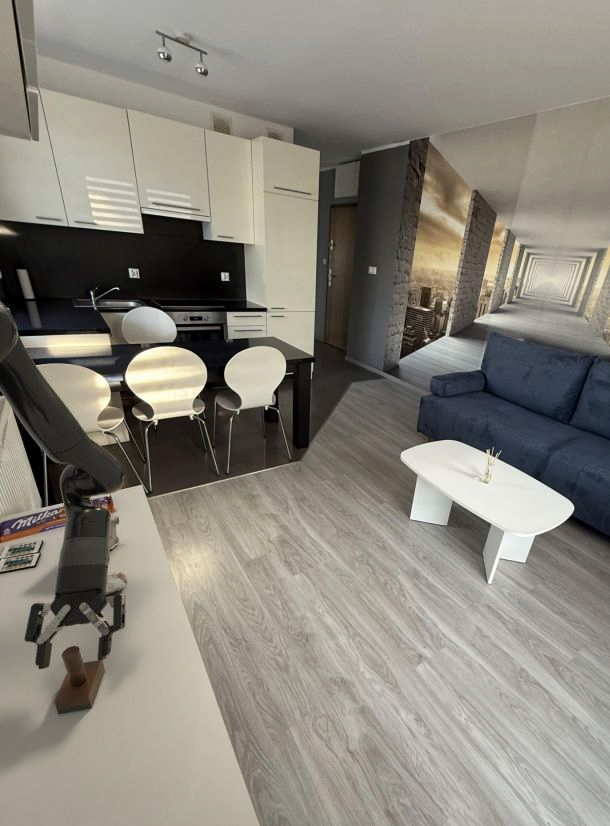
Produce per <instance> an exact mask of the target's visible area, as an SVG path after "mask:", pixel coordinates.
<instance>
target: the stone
mask: <svg viewBox="0 0 610 826" xmlns="http://www.w3.org/2000/svg"><path fill="white" fill-rule="evenodd" d="M127 584H128V580H127V577H126V573H125V572H122V571H117V572H113V573H109V574H107V586H106V595H107V596H108V595H109V594H111V593H112V594H113V593H115V592H116V591H117V592H120V591H121V590H122V589H124V588H125V587H126V585H127Z"/></svg>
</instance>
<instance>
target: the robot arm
mask: <svg viewBox="0 0 610 826" xmlns="http://www.w3.org/2000/svg"><path fill="white" fill-rule="evenodd" d="M18 331H19V329H18V326H17V323H16V321H15V318H14V316H13V314H12V313H11V311H10V310H9V308H8V307H7V306H6V305H5V303H3V302H2V301H1V300H0V392H1V394H2V395H3V397H4V398H5V399H6V402H7V403H8V404H9V406H10V408H11V409H12V410H13V412H14V414H15V415H16V417H17V418H18V420H19V421H20V423H21V424H22V426H23V427H24V429H25V430H26V431H27V432H28V434H29V435H30V437H31V438H32V439H33V440H34V441H35V442H36V444H37V445H38V446H39V447H40V449H41V450H42V451H43V452H44V453H45V454H46V456H47V457H48V458H49V459H50V460H51V461H52V462H55V463H56V464H62V465H67V466H66V467H65V468H64V469H63V470H62V473H61V475H60V476H59V477H60V478H59V488H60V489H59V490H60V493H61V498H62V499H61V500H62V503H63V509H64V513H65V525H64V532H63V541H62V546H61V548H60V552H59V558H58V566H57V574H56V583H55V590H54V599H53V601H52V602H50V603H46V602H35V603H33V604H31V607H30V611H29V615H28V619H27V624H26V629H25V634H24V641H25V642H26V643H34V644H35V645H36V646H37V647H36V654H35V660H34V661H35V662H34V663H35V666H37V667H38V670H45V669H47V668H49V667H50V665H51V657H52V650H53V642H51V641H52V640H53V639H54V638H55V637H56V636H57V634H58V633H59V632H61V631H62V630H63V628H65V627H72V626H76V625H88V624H91V625H92V626H93V627H95V628H96V629H97V631H98V632H99V633H100V635H101V636H99V638H98V649H97V661H100V660H102V661H104V660H106V659H107V656H110V654H111V651H112V640H113V635H114V633H116V632H118V631H120V630H123V629H124V628H126V595H125V594H123V593H117V594H115V595H110V596H108V594H107V595H106V586H107V576H108V575H109V574H108V573H109V563H110V551H109V534H110V522H111V515H112V513H111V511H110V510H109V509H108V508H106V507H102V506H97V505H93V504H92V500H91V499H92V498H91V497H96V496H103V495H104V496H105V495H111V494H114V493H116V492H118V491H120V490H121V489H122V488H123V486H124V484H125V481H126V475H125V469H124V467H123V466H122V464H121V463H120V462H119V460H118V459H117V458H116V457H115V456H114V455H112V454H111V453H110V452H109V451H108V450H106V449H105V448H104V447H102V445H100V444H99V443H98V442H97V441H95V440H93V439H92V438H91V437H90V436H89V435H88V433H87V432H86V430H85V429H84V428H83V426H82V425H81V423H80V422H79V421H78V419H77V418H76V417H75V415H74V414H73V412H72V411H71V410H70V409H69V407H68V406H67V405H66V404H65V402H64V401H63V399H62V398H61V396H59V395H58V394H57V392H56V390H54V388H53V387H52V386H51V385H50V383H49V381H47V379H46V378H45V377H44V376H43V374H42V372H41V371H40V369H39V368H38V366H37V365H36V364H35V361H34V360H33V359H32V357H31V356H30V354H29V352H28V350H27V349H26V347H25V346H24V343H23V341H22V338H21V337H20V334H19V332H18ZM108 604H109V607H110V608H111V609H113V612H112V613H113V615H112V624H110V622H109V621H108V618H107V617H106V616H105V614H104V613H103V612H102V611H103V610H104V608H105V607H106V606H107V605H108ZM50 611H51V612H52V614H53V615H54V617H53V619H52V620H51V621H50V622H49V623H48V624H47V626H46V627H45V629H44V631H43V632H42V630H43V624H44V620H45V617H47V616H48V614H49V612H50Z"/></svg>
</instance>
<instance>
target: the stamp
mask: <svg viewBox="0 0 610 826" xmlns="http://www.w3.org/2000/svg"><path fill="white" fill-rule="evenodd" d="M82 656H83V655H82V653H81V650H80V647H79V646H78V645H71V646H69V647H67V648H65V649H64V650H63V651H62V653H61V657H62V661H63V663H64V667H65V670H66V675H65V677H64V679H63V681H62V684H61V686H60V688H59V690H58V693H57V694H56V697H55V699H54V701H53V703H54V706H55V709H56V712H57V714H64V713H70V712H75V711H82V710H88V709H92V708H93V707H94V704H95V700H96V697H97V695H98V692H99V689H100V687H101V683H102V680H103V677H104V675H105V672H106V669H105V666H104V660H100V661H98V660H90V661H85V662H84V659H83V657H82Z"/></svg>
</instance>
